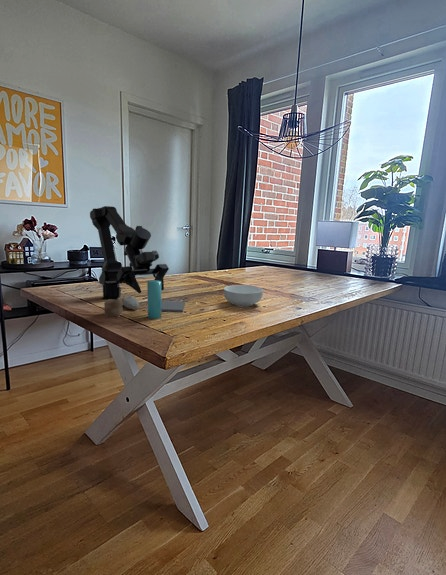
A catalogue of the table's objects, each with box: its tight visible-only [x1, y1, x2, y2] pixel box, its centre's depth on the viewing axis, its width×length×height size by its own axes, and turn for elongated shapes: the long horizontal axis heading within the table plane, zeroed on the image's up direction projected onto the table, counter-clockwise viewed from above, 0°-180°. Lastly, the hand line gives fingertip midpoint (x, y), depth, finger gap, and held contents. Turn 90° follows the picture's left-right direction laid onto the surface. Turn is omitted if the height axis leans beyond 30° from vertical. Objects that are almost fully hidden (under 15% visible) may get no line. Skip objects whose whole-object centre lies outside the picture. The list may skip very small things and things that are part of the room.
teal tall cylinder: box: [146, 279, 162, 320], centre depth 117 cm, size 5×5×13 cm
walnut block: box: [103, 299, 124, 317], centre depth 119 cm, size 5×5×5 cm
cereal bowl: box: [223, 284, 264, 308], centre depth 141 cm, size 17×17×7 cm
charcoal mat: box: [161, 300, 186, 313], centre depth 132 cm, size 13×13×1 cm
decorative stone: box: [121, 294, 140, 311], centre depth 131 cm, size 6×16×3 cm, turn 29°
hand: (152, 291), depth 118 cm, fingers open, 9 cm apart
